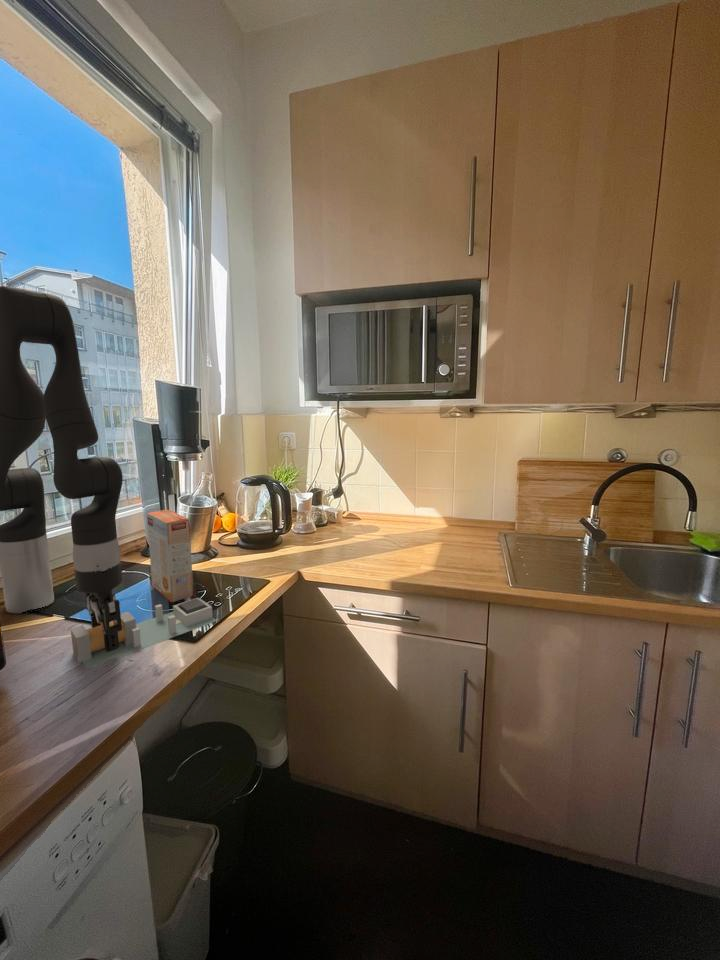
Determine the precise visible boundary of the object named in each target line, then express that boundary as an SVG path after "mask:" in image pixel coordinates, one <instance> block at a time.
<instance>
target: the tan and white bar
mask: <svg viewBox="0 0 720 960" xmlns="http://www.w3.org/2000/svg"><path fill="white" fill-rule="evenodd" d="M120 615H121V624H122V630H121V631H118V640H119V643H120V642H124V643H125V645H126V646H127V645H130V644H133V642H132V630H131V629H134V628H136V624H137V622H136V618H135V617H134V616H133V615H132V614H131V613H130V612H129V611H125V612H122V613H121V612H120ZM112 625H114V623H113V621H111V622H110V623H109V626H112ZM70 636H71V644H72V652H73V653H72V654H73V656H75V658H76V660H77V662H78V663H83V661H86V660H89V659H91V658H92V657H91V652H94V651H97V650H100V649H103V648H105V644H104V634H103V632H102V626H101V625H100V626H97V627H93V628H92V627H91V628H88V629H86V628H85V626H84V625H83V624H82V625H79V626H76V627H73V628H70Z"/></svg>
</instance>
